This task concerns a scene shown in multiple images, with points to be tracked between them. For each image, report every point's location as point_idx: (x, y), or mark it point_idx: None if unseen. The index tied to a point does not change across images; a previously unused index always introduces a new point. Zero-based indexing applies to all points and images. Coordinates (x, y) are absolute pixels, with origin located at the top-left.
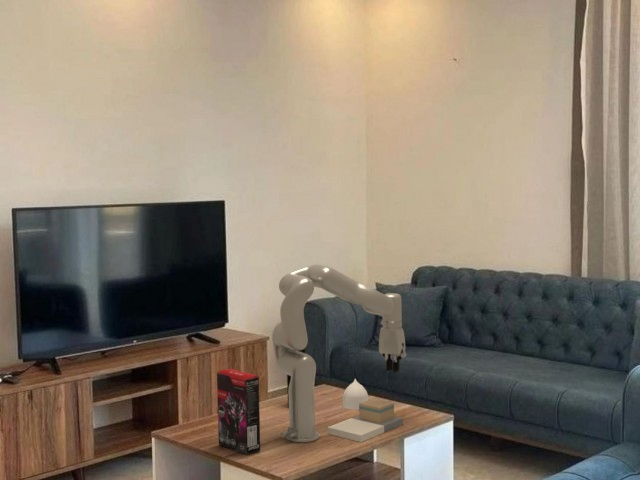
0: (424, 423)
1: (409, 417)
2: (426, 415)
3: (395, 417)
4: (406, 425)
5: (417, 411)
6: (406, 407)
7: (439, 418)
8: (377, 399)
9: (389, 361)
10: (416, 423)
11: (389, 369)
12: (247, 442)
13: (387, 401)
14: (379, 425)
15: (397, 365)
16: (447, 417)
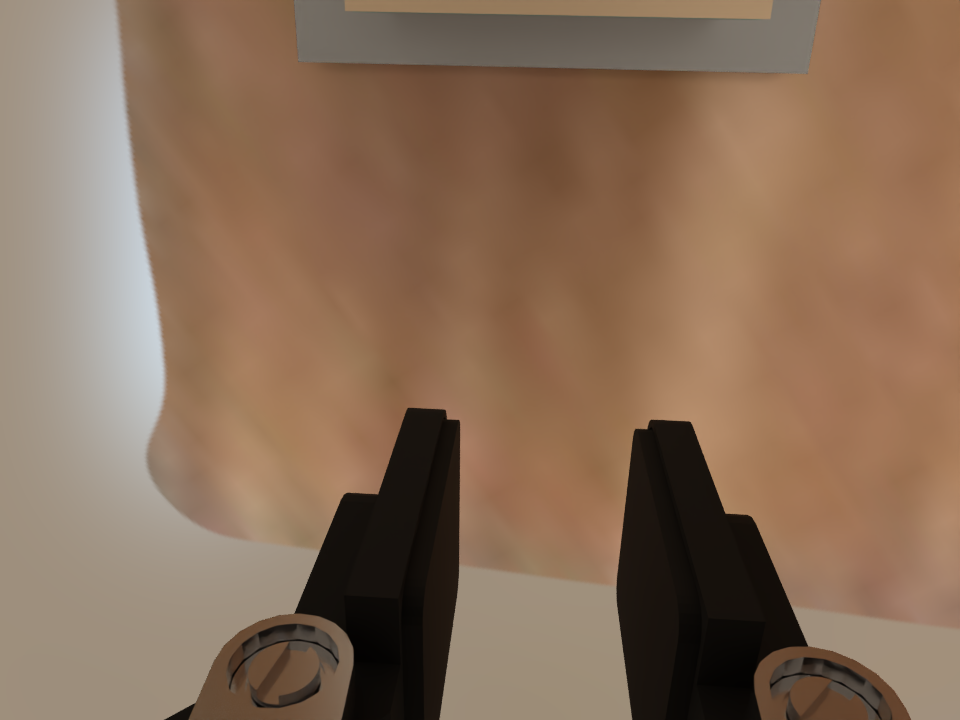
0: (185, 231)
1: (418, 311)
2: (332, 443)
3: (385, 37)
4: (273, 61)
5: (468, 497)
6: (620, 543)
7: (190, 430)
8: (672, 4)
9: (666, 678)
10: (242, 185)
11: (632, 489)
12: None
13: (466, 5)
14: None
15: (319, 588)
16: (161, 486)
